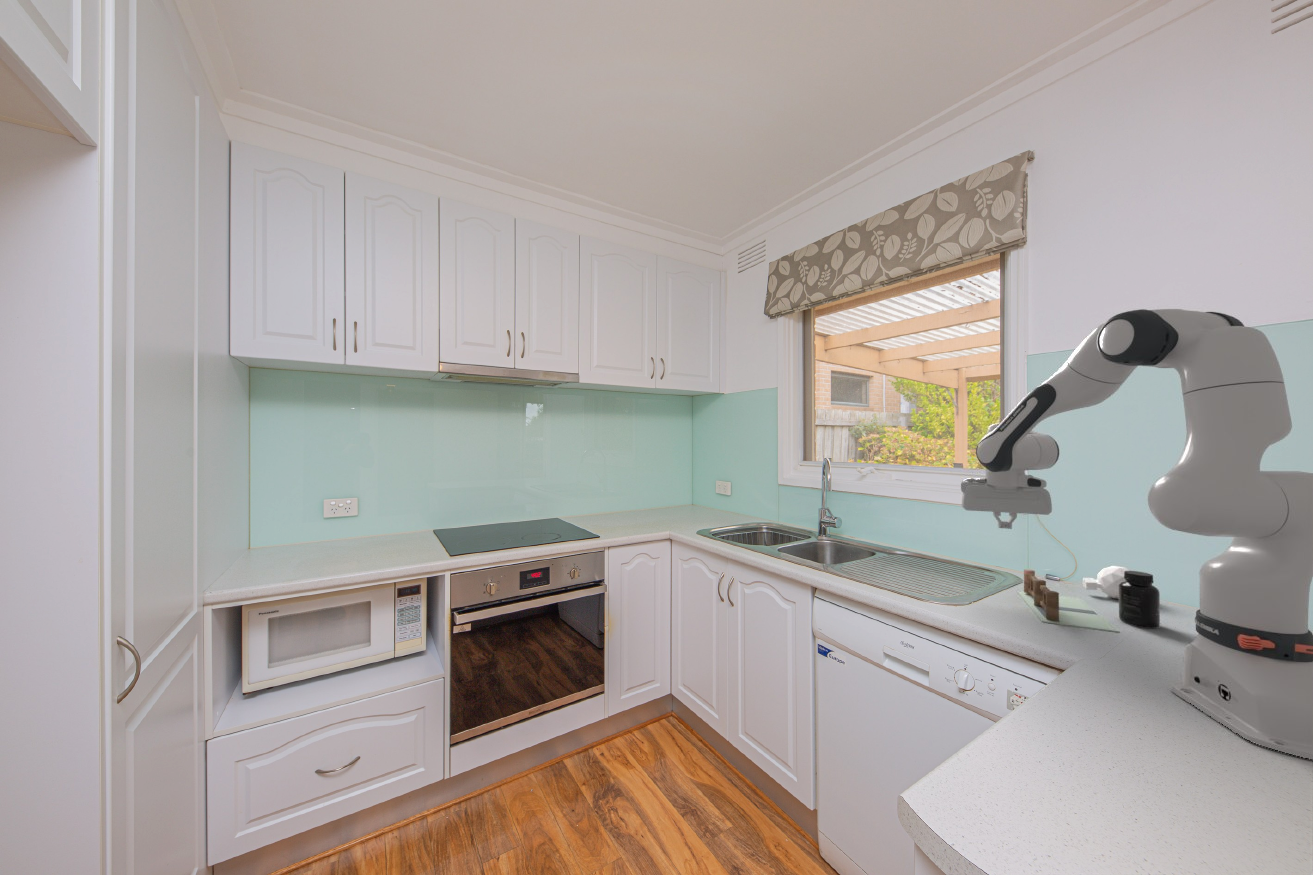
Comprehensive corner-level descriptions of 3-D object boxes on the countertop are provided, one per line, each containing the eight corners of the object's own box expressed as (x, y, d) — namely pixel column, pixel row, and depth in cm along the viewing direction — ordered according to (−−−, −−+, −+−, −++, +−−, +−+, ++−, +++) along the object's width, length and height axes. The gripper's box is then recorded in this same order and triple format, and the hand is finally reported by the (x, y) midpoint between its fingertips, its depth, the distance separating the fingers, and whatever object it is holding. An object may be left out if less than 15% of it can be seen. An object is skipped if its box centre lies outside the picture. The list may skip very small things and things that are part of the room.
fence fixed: (1033, 604, 123) (1032, 578, 123) (1044, 606, 122) (1044, 579, 122) (1047, 621, 112) (1047, 592, 112) (1060, 623, 111) (1060, 594, 111)
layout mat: (1119, 632, 105) (1119, 630, 105) (1041, 622, 112) (1041, 620, 112) (1079, 599, 127) (1079, 597, 127) (1016, 592, 133) (1016, 590, 133)
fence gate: (1043, 601, 123) (1042, 578, 123) (1031, 600, 124) (1031, 577, 124) (1033, 591, 131) (1033, 569, 131) (1022, 590, 132) (1022, 568, 132)
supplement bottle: (1168, 630, 107) (1168, 578, 107) (1133, 627, 108) (1133, 576, 108) (1143, 618, 113) (1143, 569, 113) (1111, 616, 115) (1110, 568, 115)
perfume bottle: (1132, 587, 131) (1078, 587, 135) (1131, 559, 128) (1076, 560, 133) (1150, 607, 123) (1092, 606, 128) (1150, 577, 121) (1091, 577, 126)
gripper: (962, 478, 132) (962, 527, 132) (1054, 481, 123) (1054, 533, 123) (959, 477, 138) (959, 523, 138) (1046, 479, 129) (1046, 529, 129)
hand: (1004, 528), depth 130 cm, fingers closed
